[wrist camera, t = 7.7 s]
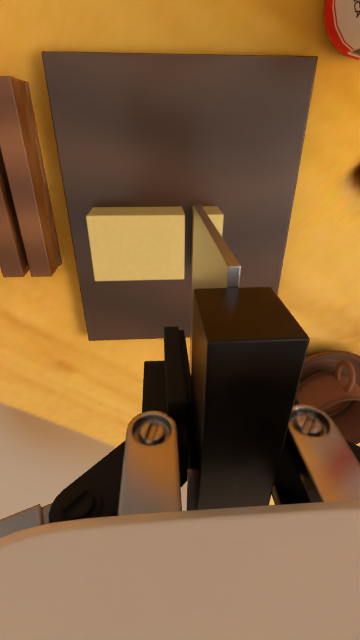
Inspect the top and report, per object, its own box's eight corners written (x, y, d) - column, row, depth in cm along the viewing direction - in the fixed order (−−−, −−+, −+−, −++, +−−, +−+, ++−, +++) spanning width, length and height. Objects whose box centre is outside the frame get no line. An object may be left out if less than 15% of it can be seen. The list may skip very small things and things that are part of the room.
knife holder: (-33, 81, 22) (-58, 75, 19) (28, 82, 22) (11, 76, 20) (15, 264, 29) (1, 277, 26) (62, 263, 29) (52, 276, 26)
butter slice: (192, 206, 26) (196, 214, 23) (217, 206, 26) (223, 214, 23) (190, 265, 28) (194, 279, 26) (213, 265, 29) (219, 278, 26)
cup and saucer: (257, 360, 36) (275, 400, 30) (368, 329, 35) (406, 366, 29) (273, 431, 42) (290, 475, 36) (368, 407, 41) (400, 449, 35)
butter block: (92, 207, 25) (85, 215, 23) (182, 206, 26) (185, 214, 23) (100, 267, 28) (94, 281, 25) (181, 266, 28) (184, 279, 26)
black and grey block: (175, 204, 13) (209, 315, 5) (219, 204, 13) (317, 312, 5) (175, 391, 18) (192, 593, 10) (207, 390, 18) (248, 588, 10)
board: (46, 54, 22) (40, 50, 21) (311, 59, 23) (318, 56, 22) (90, 334, 33) (88, 341, 32) (267, 328, 34) (270, 335, 33)
